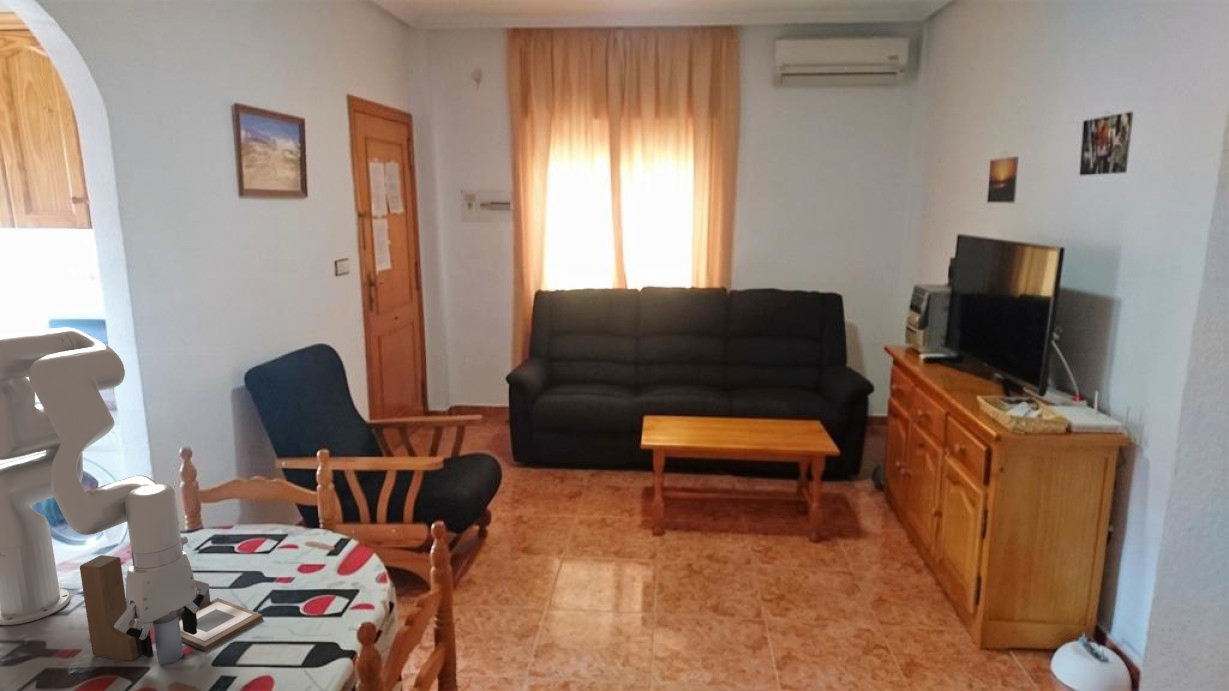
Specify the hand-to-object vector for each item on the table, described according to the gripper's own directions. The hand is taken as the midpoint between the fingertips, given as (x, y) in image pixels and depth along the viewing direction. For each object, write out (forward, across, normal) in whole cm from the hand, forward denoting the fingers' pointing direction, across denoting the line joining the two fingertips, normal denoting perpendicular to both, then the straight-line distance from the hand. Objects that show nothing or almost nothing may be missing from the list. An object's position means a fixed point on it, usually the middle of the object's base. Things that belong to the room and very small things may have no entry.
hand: (168, 643), depth 129 cm
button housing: (+3, -11, -15) cm, 19 cm away
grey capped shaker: (+3, 0, 0) cm, 3 cm away
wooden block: (+3, +3, -10) cm, 11 cm away
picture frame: (+3, -10, -3) cm, 11 cm away
